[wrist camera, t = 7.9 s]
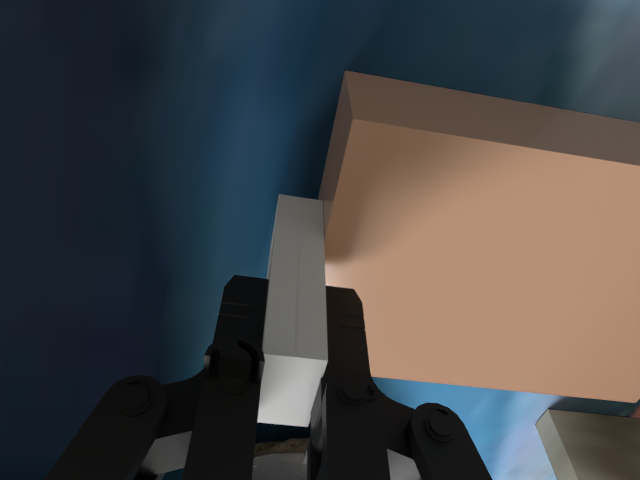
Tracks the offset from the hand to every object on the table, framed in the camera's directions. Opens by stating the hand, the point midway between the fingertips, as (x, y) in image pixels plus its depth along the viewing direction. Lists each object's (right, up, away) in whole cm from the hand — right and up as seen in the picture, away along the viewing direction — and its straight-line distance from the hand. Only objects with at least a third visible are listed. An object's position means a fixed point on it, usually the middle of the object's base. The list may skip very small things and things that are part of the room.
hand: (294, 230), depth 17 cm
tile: (+8, 0, +2) cm, 8 cm away
